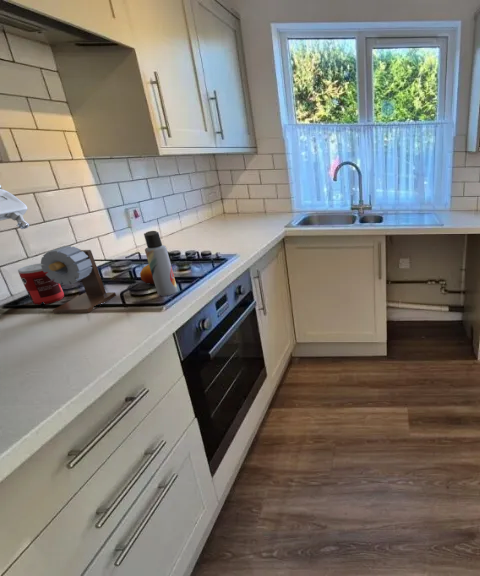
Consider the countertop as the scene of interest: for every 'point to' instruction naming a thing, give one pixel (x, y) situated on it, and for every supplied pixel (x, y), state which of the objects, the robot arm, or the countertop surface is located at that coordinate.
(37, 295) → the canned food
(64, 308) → the hook stand
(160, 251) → the lotion bottle
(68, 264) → the grey gear
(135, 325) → the countertop surface
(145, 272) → the fruit
